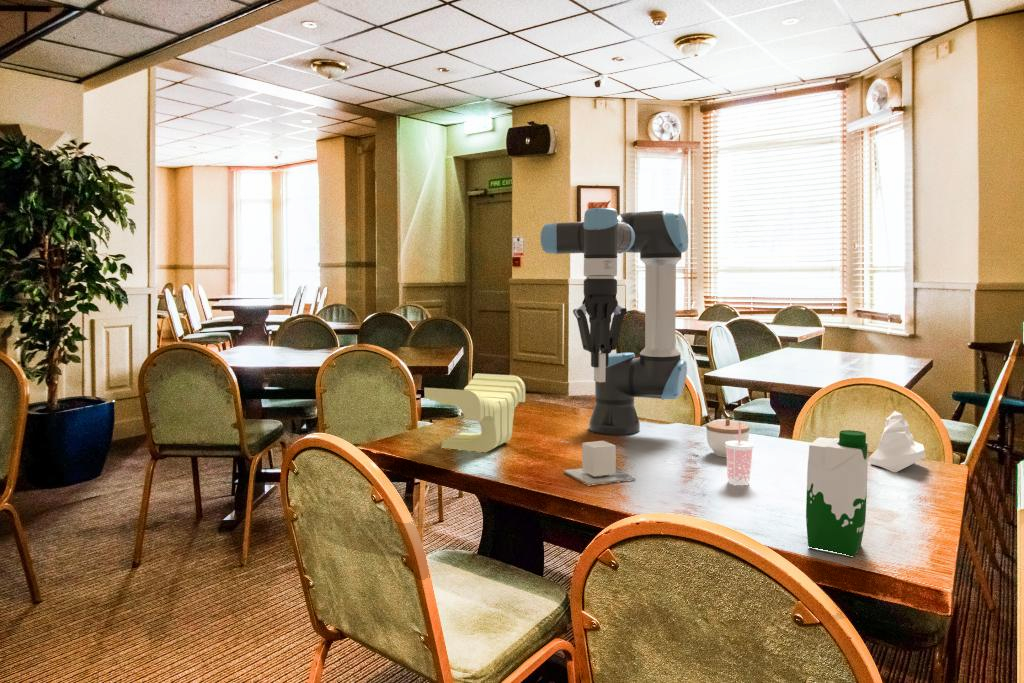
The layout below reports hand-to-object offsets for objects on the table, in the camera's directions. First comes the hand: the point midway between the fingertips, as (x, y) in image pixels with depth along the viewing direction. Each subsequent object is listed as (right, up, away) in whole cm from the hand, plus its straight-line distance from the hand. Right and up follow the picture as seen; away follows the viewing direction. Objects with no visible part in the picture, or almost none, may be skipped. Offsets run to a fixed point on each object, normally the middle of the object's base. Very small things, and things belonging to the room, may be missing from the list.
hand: (599, 381), depth 164 cm
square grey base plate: (0, -22, +2) cm, 22 cm away
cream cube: (0, -21, +2) cm, 21 cm away
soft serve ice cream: (+74, -22, +10) cm, 77 cm away
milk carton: (+35, -26, -42) cm, 60 cm away
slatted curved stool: (-29, -20, +33) cm, 48 cm away
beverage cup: (+31, -23, -4) cm, 38 cm away
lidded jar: (+36, -21, +22) cm, 47 cm away
